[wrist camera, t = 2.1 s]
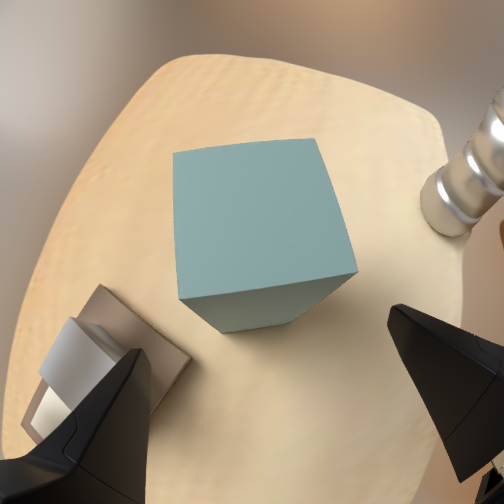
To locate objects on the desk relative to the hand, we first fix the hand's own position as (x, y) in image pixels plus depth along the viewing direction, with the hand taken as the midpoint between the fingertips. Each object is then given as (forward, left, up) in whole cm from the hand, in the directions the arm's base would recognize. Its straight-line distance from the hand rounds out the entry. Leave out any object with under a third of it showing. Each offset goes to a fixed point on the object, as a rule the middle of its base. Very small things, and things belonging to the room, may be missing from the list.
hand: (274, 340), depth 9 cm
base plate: (-6, +13, -11) cm, 18 cm away
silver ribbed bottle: (+12, -18, -11) cm, 24 cm away
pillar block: (+4, +1, -11) cm, 11 cm away
